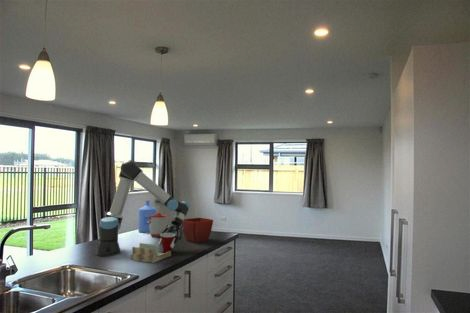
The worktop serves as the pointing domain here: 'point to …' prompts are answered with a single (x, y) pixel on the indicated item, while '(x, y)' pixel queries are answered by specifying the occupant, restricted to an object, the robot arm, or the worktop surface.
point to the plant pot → (197, 229)
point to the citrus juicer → (157, 224)
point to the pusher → (150, 246)
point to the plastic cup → (167, 241)
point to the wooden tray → (147, 255)
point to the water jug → (145, 217)
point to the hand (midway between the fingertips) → (165, 246)
